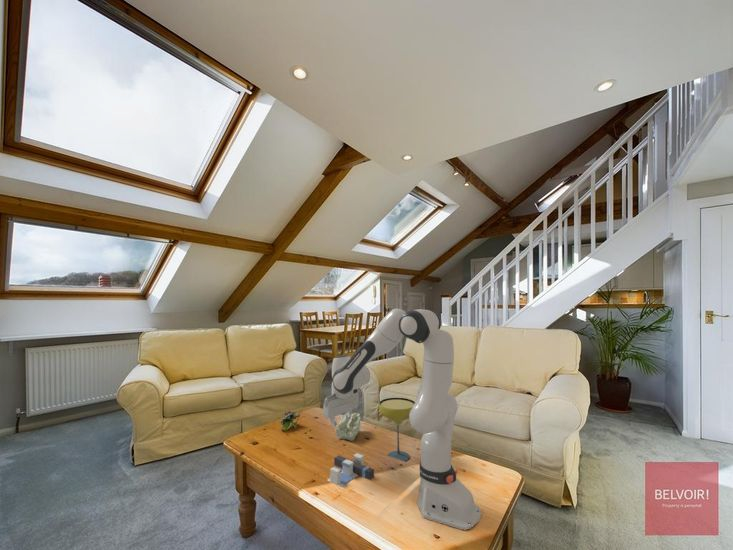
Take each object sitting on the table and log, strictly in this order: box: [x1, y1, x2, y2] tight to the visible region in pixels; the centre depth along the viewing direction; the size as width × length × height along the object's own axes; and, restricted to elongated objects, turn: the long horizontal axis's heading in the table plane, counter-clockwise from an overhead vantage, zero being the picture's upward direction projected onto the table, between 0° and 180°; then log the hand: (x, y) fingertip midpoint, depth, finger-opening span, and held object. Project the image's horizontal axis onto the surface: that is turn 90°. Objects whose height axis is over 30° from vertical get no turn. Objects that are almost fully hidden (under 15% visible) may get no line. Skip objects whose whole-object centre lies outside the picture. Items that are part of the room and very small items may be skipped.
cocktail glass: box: [378, 397, 415, 462], centre depth 158 cm, size 18×18×25 cm
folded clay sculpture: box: [334, 411, 361, 442], centre depth 182 cm, size 18×13×16 cm
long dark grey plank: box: [333, 455, 375, 481], centre depth 143 cm, size 20×3×3 cm, turn 52°
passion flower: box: [279, 410, 301, 432], centre depth 193 cm, size 11×11×12 cm
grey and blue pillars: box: [327, 453, 365, 488], centre depth 140 cm, size 8×17×6 cm, turn 142°
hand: (341, 422), depth 148 cm, fingers open, 8 cm apart
